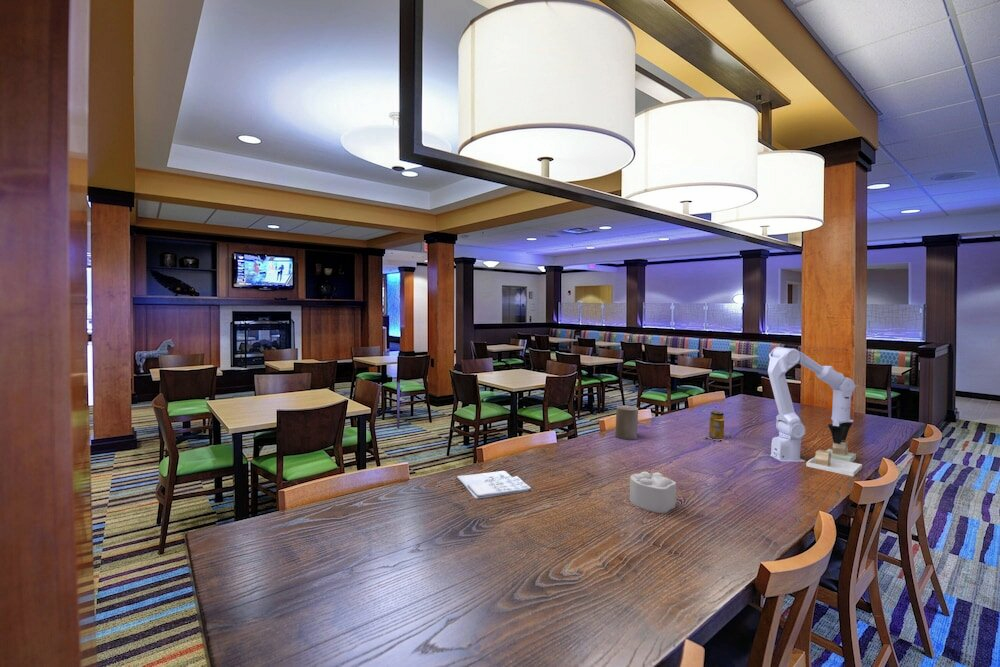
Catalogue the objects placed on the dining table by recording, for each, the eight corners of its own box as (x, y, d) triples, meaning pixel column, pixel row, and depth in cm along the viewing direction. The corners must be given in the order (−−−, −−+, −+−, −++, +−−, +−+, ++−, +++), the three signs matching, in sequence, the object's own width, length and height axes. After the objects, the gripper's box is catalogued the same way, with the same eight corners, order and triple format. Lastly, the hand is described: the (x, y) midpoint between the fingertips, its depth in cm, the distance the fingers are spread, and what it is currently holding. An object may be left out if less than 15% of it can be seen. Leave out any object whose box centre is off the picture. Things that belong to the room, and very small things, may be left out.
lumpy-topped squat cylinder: (662, 515, 135) (662, 485, 134) (622, 501, 144) (622, 473, 144) (679, 505, 142) (680, 476, 141) (640, 492, 151) (640, 466, 151)
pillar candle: (617, 439, 212) (619, 406, 212) (613, 433, 222) (614, 402, 221) (639, 440, 212) (641, 407, 211) (634, 434, 222) (635, 402, 221)
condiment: (727, 438, 216) (727, 412, 216) (719, 442, 210) (720, 415, 210) (710, 435, 221) (711, 409, 221) (703, 438, 216) (704, 412, 215)
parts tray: (861, 469, 175) (862, 464, 175) (853, 477, 166) (853, 472, 166) (816, 460, 185) (816, 455, 185) (806, 467, 177) (806, 462, 177)
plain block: (827, 467, 175) (828, 454, 175) (815, 464, 178) (815, 451, 178) (830, 465, 178) (831, 452, 178) (818, 462, 181) (818, 449, 181)
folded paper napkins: (475, 501, 145) (475, 494, 145) (456, 479, 163) (456, 473, 163) (531, 492, 152) (531, 486, 152) (507, 472, 171) (507, 466, 170)
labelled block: (844, 455, 183) (845, 442, 183) (832, 453, 186) (832, 440, 186) (847, 453, 186) (848, 441, 185) (835, 451, 189) (835, 438, 188)
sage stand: (850, 465, 180) (850, 458, 180) (822, 459, 187) (822, 453, 186) (855, 460, 186) (856, 453, 186) (828, 454, 193) (828, 448, 192)
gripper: (849, 411, 177) (847, 447, 178) (858, 406, 187) (856, 440, 188) (826, 408, 183) (825, 443, 183) (836, 403, 192) (835, 436, 193)
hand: (839, 441), depth 186 cm, fingers open, 7 cm apart
